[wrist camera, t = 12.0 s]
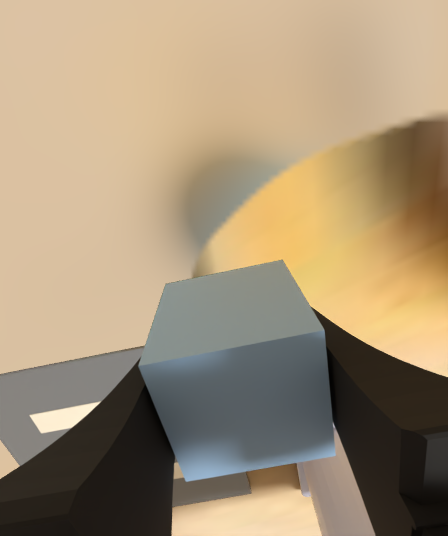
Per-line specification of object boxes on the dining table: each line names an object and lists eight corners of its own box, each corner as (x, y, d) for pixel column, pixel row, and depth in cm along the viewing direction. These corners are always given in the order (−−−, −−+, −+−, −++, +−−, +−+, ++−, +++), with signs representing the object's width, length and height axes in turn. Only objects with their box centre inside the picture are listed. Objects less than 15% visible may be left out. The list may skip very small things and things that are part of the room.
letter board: (207, 333, 18) (207, 335, 18) (251, 490, 24) (251, 494, 24) (-39, 381, 19) (-42, 384, 19) (65, 522, 25) (64, 526, 25)
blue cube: (282, 259, 12) (324, 330, 8) (295, 354, 14) (335, 455, 10) (165, 283, 12) (138, 366, 8) (194, 373, 14) (186, 481, 10)
